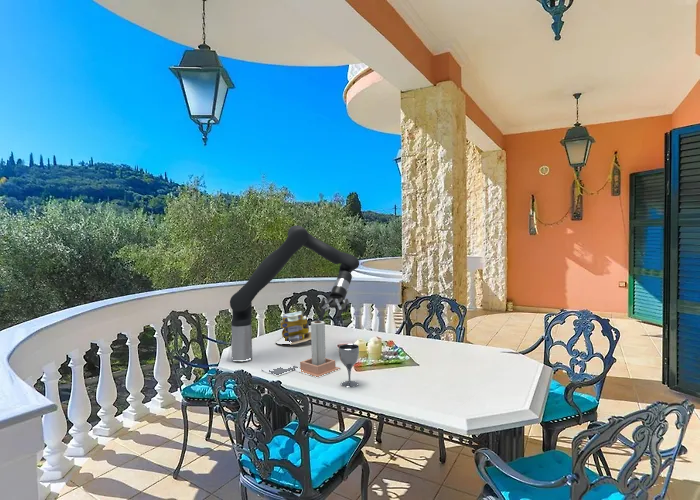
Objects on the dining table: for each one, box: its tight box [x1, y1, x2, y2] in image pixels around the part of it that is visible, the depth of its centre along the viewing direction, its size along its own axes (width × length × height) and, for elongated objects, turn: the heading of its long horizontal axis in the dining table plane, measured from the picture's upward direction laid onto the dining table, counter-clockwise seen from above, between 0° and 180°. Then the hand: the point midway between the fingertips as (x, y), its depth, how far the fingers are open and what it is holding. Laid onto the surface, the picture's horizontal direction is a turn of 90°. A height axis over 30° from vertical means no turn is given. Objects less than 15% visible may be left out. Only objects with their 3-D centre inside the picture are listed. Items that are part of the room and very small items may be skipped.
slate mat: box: [269, 365, 299, 375], centre depth 176 cm, size 12×12×1 cm
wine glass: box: [338, 343, 360, 388], centre depth 156 cm, size 8×8×15 cm
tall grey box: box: [310, 320, 327, 366], centre depth 174 cm, size 7×6×21 cm
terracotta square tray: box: [299, 357, 341, 378], centre depth 174 cm, size 14×14×4 cm
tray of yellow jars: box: [279, 310, 311, 345], centre depth 224 cm, size 25×25×17 cm
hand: (329, 317), depth 183 cm, fingers open, 8 cm apart
